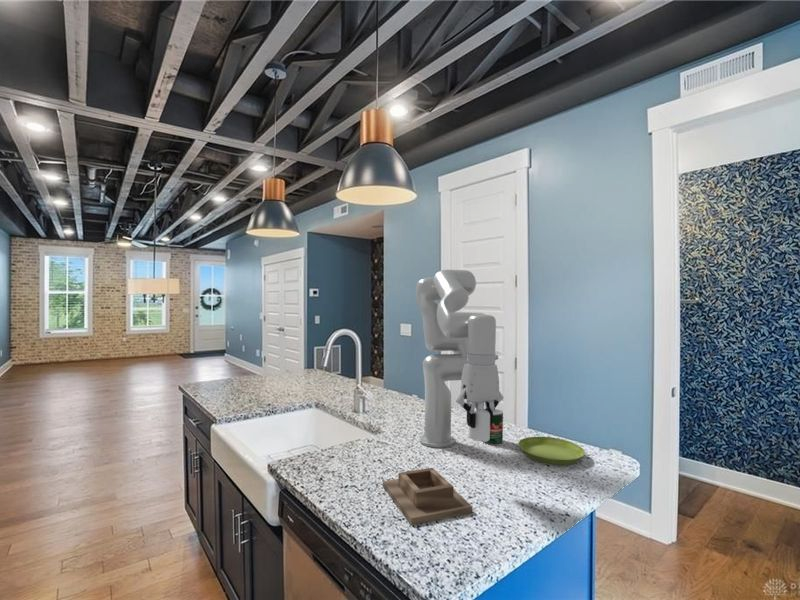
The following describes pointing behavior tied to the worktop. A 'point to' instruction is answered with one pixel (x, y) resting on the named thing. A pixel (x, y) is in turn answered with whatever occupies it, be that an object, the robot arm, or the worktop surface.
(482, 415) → the eye dropper bottle
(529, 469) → the worktop surface
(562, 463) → the saucer
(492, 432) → the canned tomato
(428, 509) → the bottle stand
